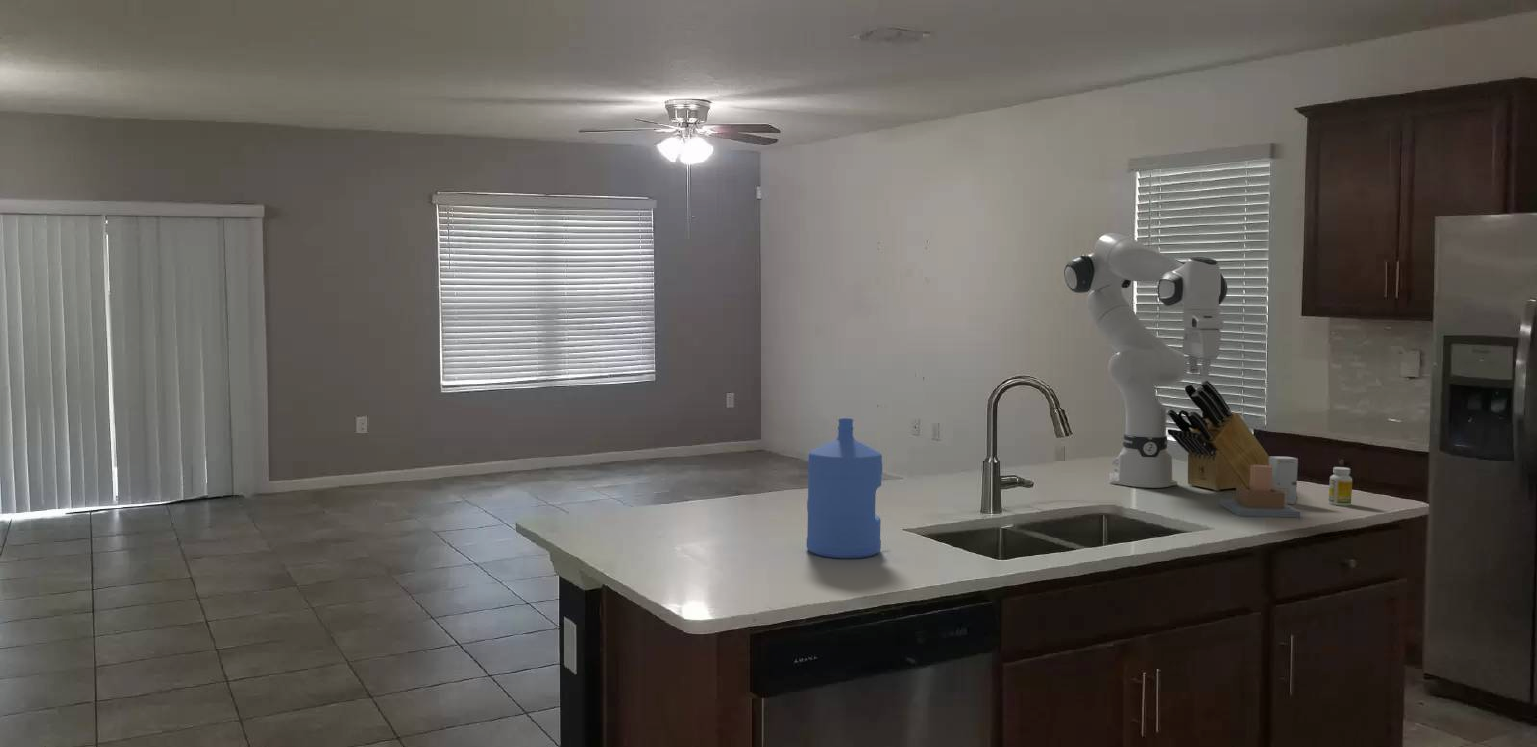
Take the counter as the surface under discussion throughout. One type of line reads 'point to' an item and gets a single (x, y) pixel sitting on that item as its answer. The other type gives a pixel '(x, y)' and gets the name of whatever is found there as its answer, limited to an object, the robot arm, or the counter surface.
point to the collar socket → (1259, 503)
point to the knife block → (1216, 442)
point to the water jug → (843, 497)
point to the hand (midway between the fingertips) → (1198, 374)
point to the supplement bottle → (1340, 487)
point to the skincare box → (1284, 476)
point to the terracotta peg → (1260, 478)
